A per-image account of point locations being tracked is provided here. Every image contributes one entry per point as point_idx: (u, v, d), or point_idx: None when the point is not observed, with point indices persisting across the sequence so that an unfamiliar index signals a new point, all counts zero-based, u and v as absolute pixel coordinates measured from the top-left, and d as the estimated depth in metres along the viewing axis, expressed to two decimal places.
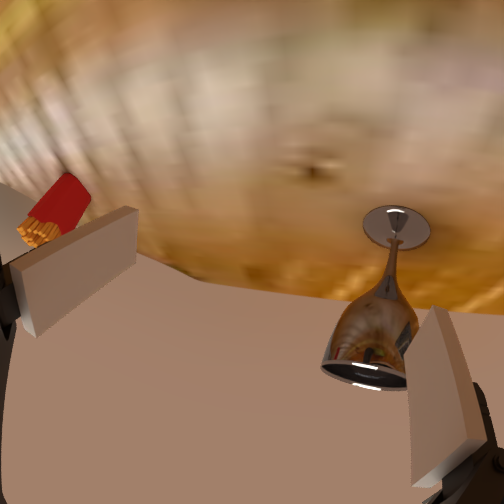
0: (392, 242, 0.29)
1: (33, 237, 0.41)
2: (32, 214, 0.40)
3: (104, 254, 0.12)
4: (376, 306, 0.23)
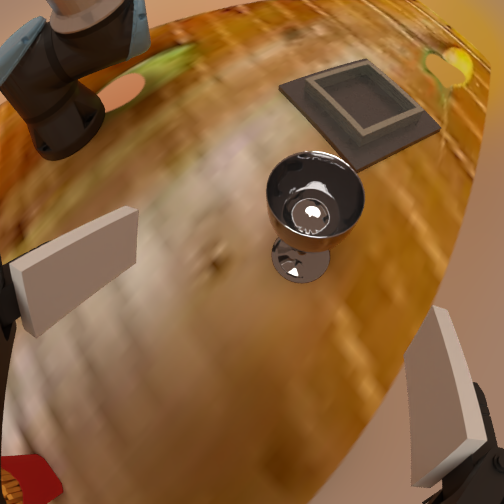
0: None
1: None
2: None
3: (104, 254, 0.12)
4: None
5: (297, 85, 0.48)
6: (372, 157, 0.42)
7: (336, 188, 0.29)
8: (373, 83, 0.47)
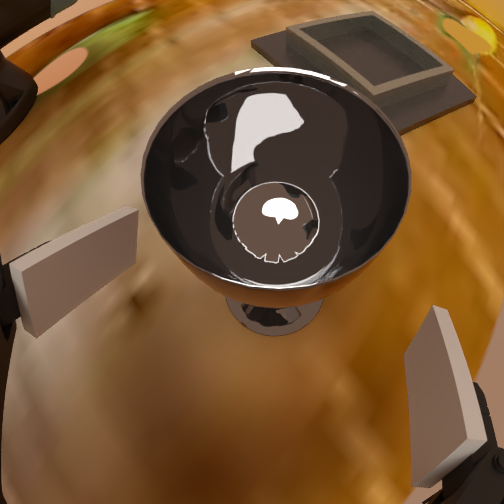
0: None
1: None
2: None
3: (104, 254, 0.12)
4: None
5: (276, 39, 0.32)
6: None
7: (335, 158, 0.13)
8: (381, 39, 0.32)
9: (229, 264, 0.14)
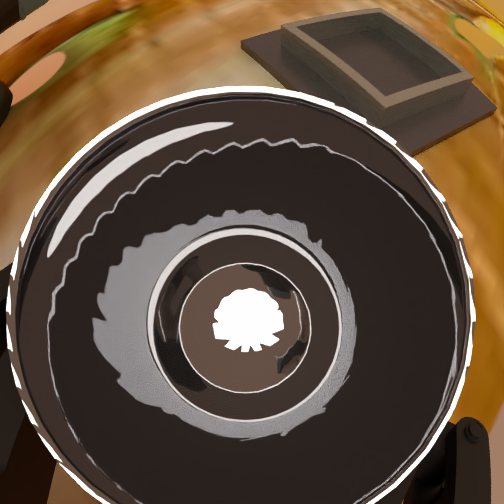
0: None
1: None
2: None
3: None
4: None
5: (269, 39, 0.28)
6: None
7: (337, 229, 0.09)
8: (390, 39, 0.28)
9: (183, 374, 0.09)
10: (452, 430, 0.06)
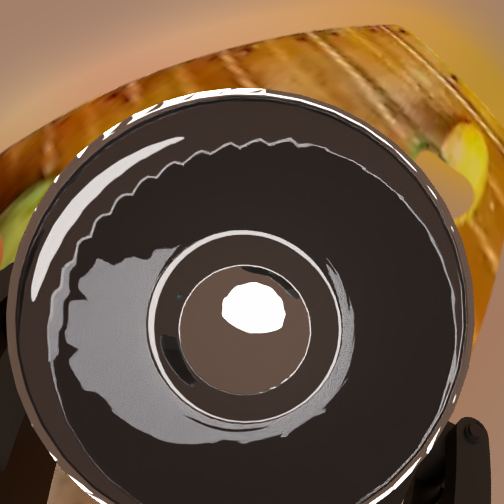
0: None
1: None
2: None
3: None
4: None
5: None
6: None
7: (337, 231, 0.09)
8: None
9: (183, 376, 0.09)
10: (452, 430, 0.06)
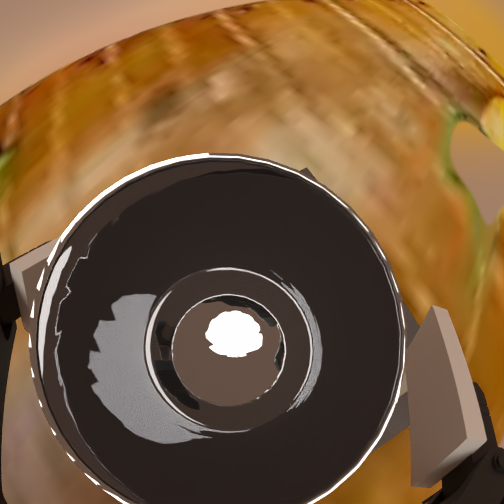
0: None
1: None
2: None
3: None
4: None
5: None
6: None
7: (309, 266, 0.10)
8: None
9: (176, 388, 0.11)
10: None
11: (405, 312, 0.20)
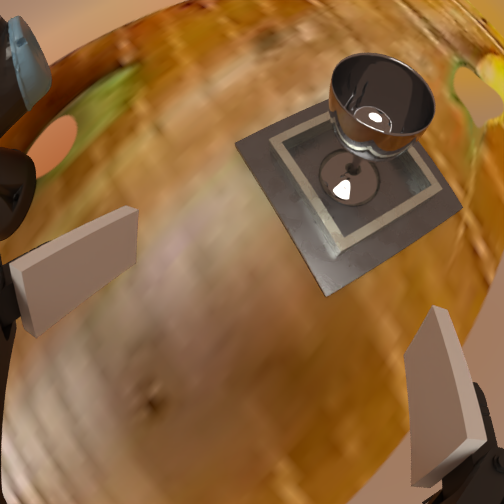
0: (349, 168, 0.32)
1: None
2: None
3: (104, 254, 0.12)
4: None
5: (260, 142, 0.36)
6: (353, 273, 0.32)
7: (398, 98, 0.23)
8: None
9: None
10: None
11: (430, 161, 0.33)
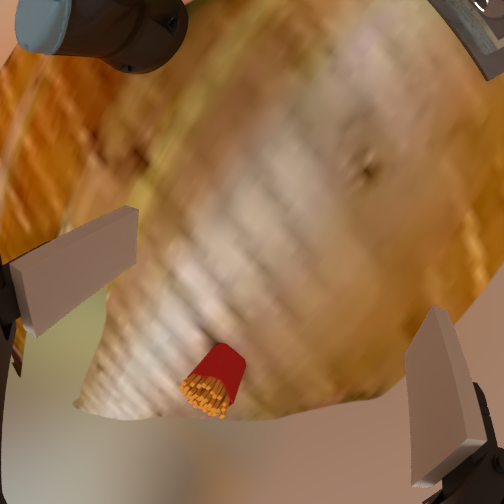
0: None
1: (198, 393, 0.48)
2: (192, 372, 0.50)
3: (104, 254, 0.12)
4: None
5: None
6: (503, 66, 0.26)
7: None
8: None
9: None
10: None
11: None
